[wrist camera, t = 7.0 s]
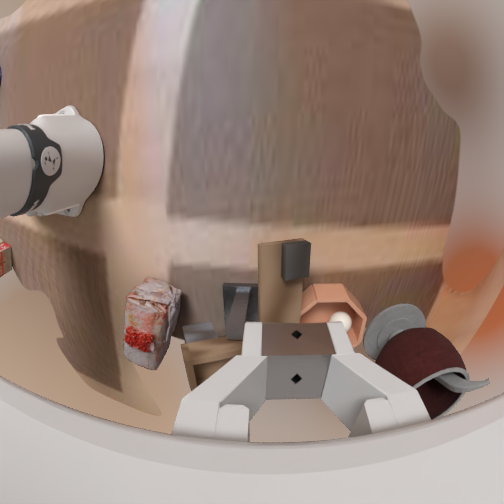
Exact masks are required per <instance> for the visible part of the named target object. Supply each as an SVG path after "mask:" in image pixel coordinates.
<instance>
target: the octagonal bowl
mask: <svg viewBox="0 0 504 504" xmlns="http://www.w3.org/2000/svg"><path fill="white" fill-rule="evenodd" d="M339 311H342V312H345V313H347V314H348V315H349V316H350V318H351V321H352V324H351V328H350V329H349V331H348V332H347V335H348V337H349V340H350V342H351V345H352V347H353V348H354V347H356V346H357V345H359V344H360V342H361V341H362V337H363V333H364V329H365V324H366V320H367V317H366V315H365V313H364V311H363V309H362V307H361V305H360V303H359V301H358V300H357V299H356V298H355V297H354V296H353V295H352V294H351V293H350V291H349V290H348V289H347V288H346V287H345V286H344V285H343V284H313V285H312V284H311V285H310V286H309V287H308V288H307V289H306V290H304V291H303V292H302V302H301V315H300V323H322V322H329V319H330V317H331V316H332V315H333V314H334V313H336V312H339Z"/></svg>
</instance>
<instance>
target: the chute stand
mask: <svg viewBox="0 0 504 504" xmlns="http://www.w3.org/2000/svg"><path fill="white" fill-rule="evenodd" d="M223 298H224V312H225V326H226V339H232V340H243V336H244V327H245V323H246V322H258V284H241V283H224V284H223Z"/></svg>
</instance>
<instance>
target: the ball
mask: <svg viewBox="0 0 504 504" xmlns="http://www.w3.org/2000/svg"><path fill="white" fill-rule="evenodd" d="M334 321H341V322H342V323H343V325H344V327H345V330H346V332H348V331H349V329H350V328H351V324H352V321H351V318H350V316H349V315H348V314H347V313H345V312H342V311H339V312H336V313H334V314H333V315H332V316H331V317H330V319H329V322H334Z"/></svg>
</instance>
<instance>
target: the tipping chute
mask: <svg viewBox="0 0 504 504" xmlns="http://www.w3.org/2000/svg"><path fill="white" fill-rule="evenodd" d="M310 250H311V243H310V242H308V241H306V240H304V239H302V238H300V239H292V240H284V241H276V242H268V243H261V244H258V322H262V323H263V322H275V323H300V315H301V302H302V289H303V277H308V276H309V266H310ZM182 328H183V333H184V339H185V344H181V348H182V353H183V358H184V362H185V368H186V372H187V377H188V381H189V385H190V388H191V391H193V390H194V389H195V388H197V387H198V386H199V385H200V384H202V383H203V382H204V381H205V380H207V379H208V378H209V377H210V376H212V375H213V374H214V373H215V372H217V371H218V370H219V369H220V368H222V367H223V366H224V365H225V364H226V363H228V362H229V361H230V360H231V359H232V358H234V357H235V356H236V355H241V353H242V344H243V340H232V339H226V336H223V337H217V334H216V332H215V330H214V328H213V325H212V323H211V321H209V322H204V323H198V324H192V325H186V326H182Z"/></svg>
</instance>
